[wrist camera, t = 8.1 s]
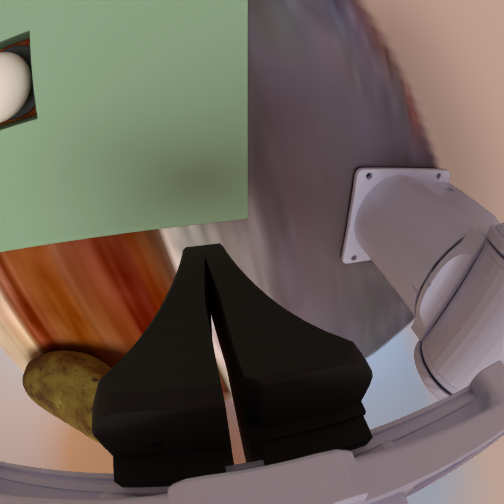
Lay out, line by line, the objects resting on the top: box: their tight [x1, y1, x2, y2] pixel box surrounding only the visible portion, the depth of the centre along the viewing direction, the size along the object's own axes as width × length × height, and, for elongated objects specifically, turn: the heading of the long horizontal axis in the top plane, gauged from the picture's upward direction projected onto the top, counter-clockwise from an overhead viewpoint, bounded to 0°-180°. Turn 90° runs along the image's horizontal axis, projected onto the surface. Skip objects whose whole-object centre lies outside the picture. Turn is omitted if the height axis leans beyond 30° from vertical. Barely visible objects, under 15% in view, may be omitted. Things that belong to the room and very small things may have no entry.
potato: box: [23, 350, 112, 443], centre depth 24 cm, size 8×13×8 cm, turn 58°
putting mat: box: [0, 0, 248, 252], centre depth 14 cm, size 20×16×2 cm
